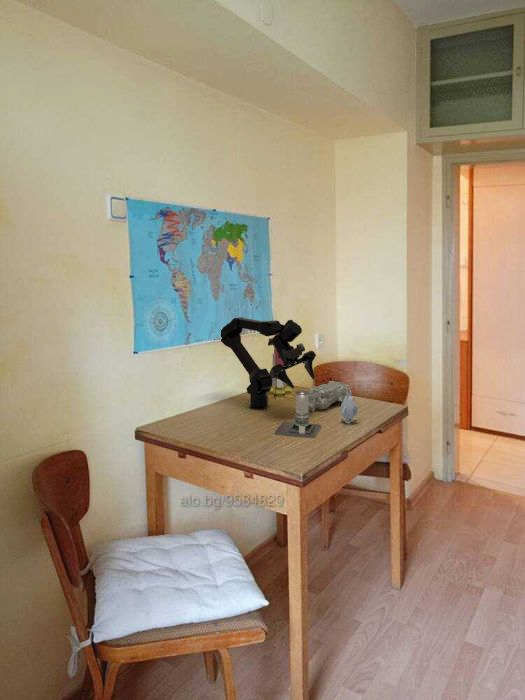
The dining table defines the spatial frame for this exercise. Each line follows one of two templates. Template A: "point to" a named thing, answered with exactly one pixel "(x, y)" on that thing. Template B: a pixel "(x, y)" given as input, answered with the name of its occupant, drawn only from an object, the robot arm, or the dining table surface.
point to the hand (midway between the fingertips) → (303, 383)
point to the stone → (326, 395)
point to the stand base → (291, 430)
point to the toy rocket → (279, 382)
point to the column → (302, 409)
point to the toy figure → (348, 408)
